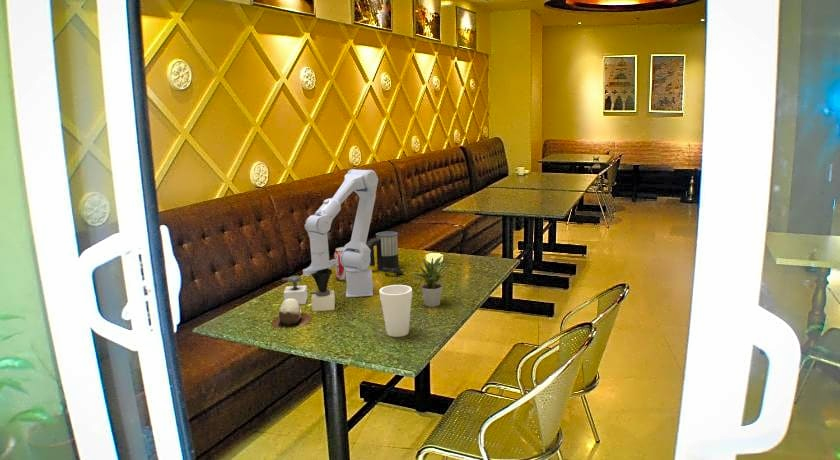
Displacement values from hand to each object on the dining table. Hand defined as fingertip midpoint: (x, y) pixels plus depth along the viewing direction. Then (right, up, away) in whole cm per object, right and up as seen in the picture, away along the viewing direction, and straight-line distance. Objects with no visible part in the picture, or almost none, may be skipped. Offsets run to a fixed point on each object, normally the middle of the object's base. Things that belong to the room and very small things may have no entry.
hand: (322, 291), depth 188 cm
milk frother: (+21, +4, +41) cm, 46 cm away
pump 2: (-1, -4, +1) cm, 5 cm away
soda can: (+3, +1, +33) cm, 33 cm away
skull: (-8, -9, -11) cm, 16 cm away
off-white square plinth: (0, -5, +1) cm, 5 cm away
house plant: (+36, -4, +1) cm, 37 cm away
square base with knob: (-10, -4, +8) cm, 14 cm away
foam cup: (+26, -10, -23) cm, 36 cm away
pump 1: (-12, 0, +7) cm, 14 cm away
